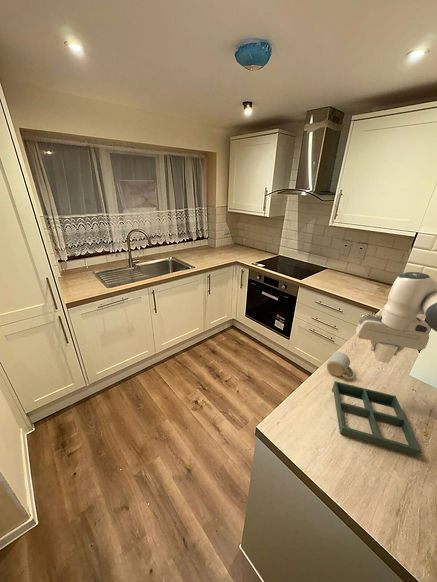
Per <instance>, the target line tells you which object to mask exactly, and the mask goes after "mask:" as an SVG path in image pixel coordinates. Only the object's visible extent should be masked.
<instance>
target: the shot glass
mask: <svg viewBox="0 0 437 582" xmlns="http://www.w3.org/2000/svg"><path fill="white" fill-rule="evenodd" d="M374 345H375V348H376V349H375V351H372V352H371V356H372V358H373V359H375V360H377V361H378V362H381V363H385V364H387V363H390V362H391V361H392V359H393V357H394V354H395V352H396V350H397V349H398V347H399V346H396V345H391V344H386V343H381V342H376V344H375V343H374Z"/></svg>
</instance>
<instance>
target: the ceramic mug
mask: <svg viewBox="0 0 437 582" xmlns="http://www.w3.org/2000/svg"><path fill="white" fill-rule="evenodd" d="M350 365H351V360H350V357H349V356H348V355H347V354H346V353H344V352H341V351H335V352H333V353H332V354H331V355H330V357H329V359H328V361H327V363H326V368H327V371H328V372H329V373H330V374H331V375H333V376H336V377H341V376H342V377H343V378H345V379H347V380H348V381H349V380H352V379H354V377H355V372H354V371H353V369H352V368H351V367H350ZM347 371H348V372H349V373H350V376H348V375H347V374H346V372H347Z"/></svg>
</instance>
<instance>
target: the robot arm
mask: <svg viewBox="0 0 437 582" xmlns="http://www.w3.org/2000/svg"><path fill="white" fill-rule="evenodd" d="M387 297H388V298H387V302H386V303H385V305H384V306H383V309H382V312H381V315H377V314H370V313H366V314H363V315H361V316H360V317H359V320H358V325H357V326H356V329H355V334H356V336H357V338H359V339H362V340H367V341H370V344H371V346H370V350H371V351H372V352H373V351H375V349H376V348H375V345H374V344H376V342H381V343H386V344H391V345H396V346H399V347H398V349H397V350H396V352H395V354H394V355H393V357H396V356H398V353H400V352H401V351H403V350H404V349H405V348H406V349H411V350H417V351H423V350H425V349H426V348H427V346H428V343H429V340H430V333H431V331H432V330H433V331H435V332H436V333H437V281H436V280H434V279H433V278H432V277H431V275H429V274H427V273H424V272H418V271H408V272H403V273H400V274H399V275H398V276H397V277H396V278H395V280H394V282H393V284H392V286H391V288H390V290H389V292H388V296H387ZM418 315H423V316H425V319H426V321H425V320H424V319H423V318H421V317H419V316H418Z"/></svg>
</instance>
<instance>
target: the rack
mask: <svg viewBox="0 0 437 582" xmlns="http://www.w3.org/2000/svg"><path fill="white" fill-rule="evenodd" d="M331 392H332V393H333V398H334V404H335V409H336V411H335V412H336V417H337V423H338V429H339V430H338V431H339V435H341V436H343V437H344V436H345V437H348V438H351V439H354V440H358V441H361V442H365V443H367V444H371V445H374V446H376V447H377V446H378V447H382V448H383V449H387V450H391V451H395V452H398V453H401V454H404V455H406V456H410V457H414V458H417V457H418V456H419V455H420V453H421V448H420V447H419V444H418V442H417V440H416V437H415V435H414V433H413V432H412V428H411V427H410V424H409V421H408V420H407V418H406V416H405V413H404V411H403V408H402V406H401V405H400V402H399V400H398V398H397V396H396V395H393V394H390V393H385V392H382V391H377V390H374V389H373V390H372V389H368V388H364V387H361V386H357V385H353V384H349V383H345V382H340V381H336V380H334V381H333V384H332V388H331ZM340 395H342V396H345V397H349V398H353V399H357V400H361V401H362V403H363V407H362V406H358V405H354V404H351V403H348V402H343V401H341V398H340ZM371 403H373V404H377V405H381V406H384V407H388V408H392V409H393V411H394V413H395V415H392V414H388V413H384V412H381V411H377V410H373V407H372V405H371ZM343 412H347V413H349V414H354V415H358V416H360V417H364V418H367V421H368V424H369V427H370V432H371V433H368V432H365V431H361V430H359V429H354V428H351V427H348V426H345V419H344V414H343ZM377 421H380V422H383V423H386V424H390V425H393V426H398V427H400V428H401V430H402V432H403V435H404V437H405V439H406V442H407V444H406V443H404V442H403V443H402V442H399V441H396V440H393V439H389V438H386V437H382V436H381V433H380V431H379V428H378V424H377Z"/></svg>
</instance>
